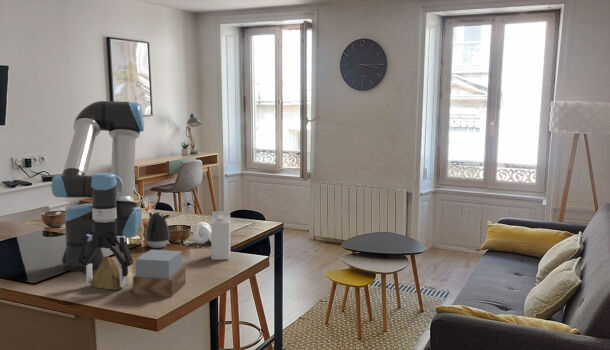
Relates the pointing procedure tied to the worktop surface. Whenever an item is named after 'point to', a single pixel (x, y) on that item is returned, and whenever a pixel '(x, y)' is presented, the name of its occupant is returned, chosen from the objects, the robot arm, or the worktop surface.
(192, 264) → the worktop surface
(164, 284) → the bottom block
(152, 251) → the top block
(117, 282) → the rock
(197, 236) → the white spiral shell
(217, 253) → the milk carton
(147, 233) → the pump dispenser
